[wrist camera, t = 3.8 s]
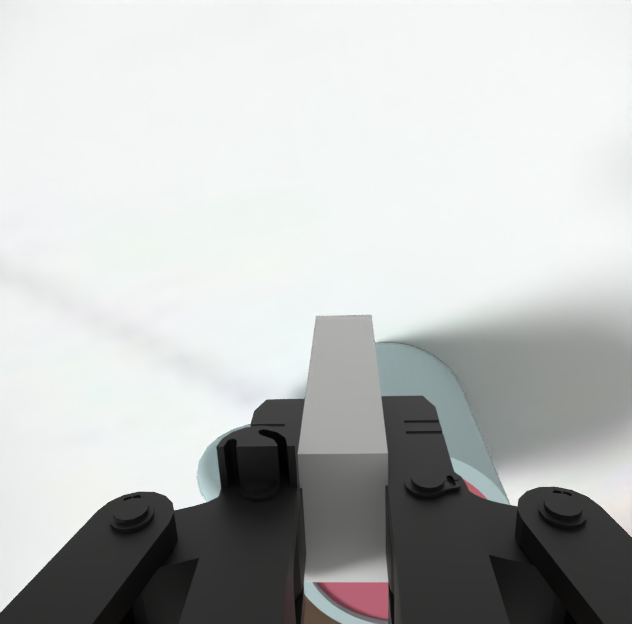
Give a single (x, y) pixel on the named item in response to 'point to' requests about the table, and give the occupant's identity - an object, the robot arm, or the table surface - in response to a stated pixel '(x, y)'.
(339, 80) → the table surface
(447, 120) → the table surface
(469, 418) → the mug
